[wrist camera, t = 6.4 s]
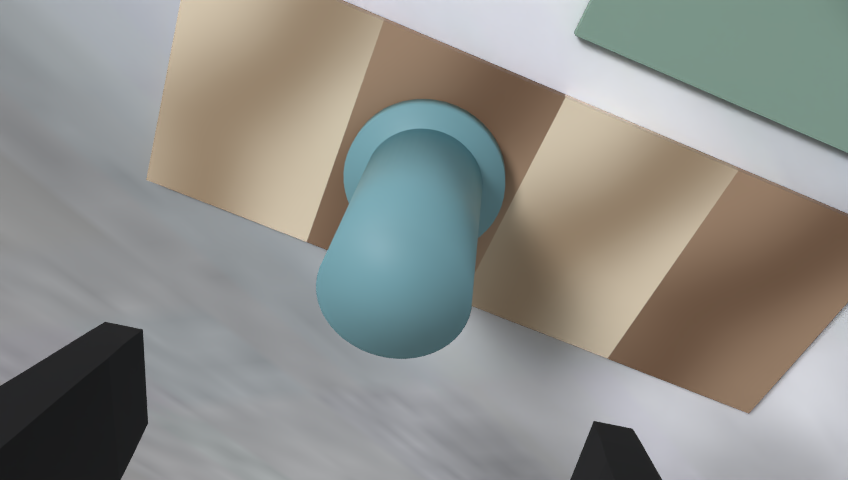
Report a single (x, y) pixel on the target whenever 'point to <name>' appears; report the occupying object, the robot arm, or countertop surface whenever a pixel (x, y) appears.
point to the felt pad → (741, 53)
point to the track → (511, 192)
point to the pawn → (411, 228)
